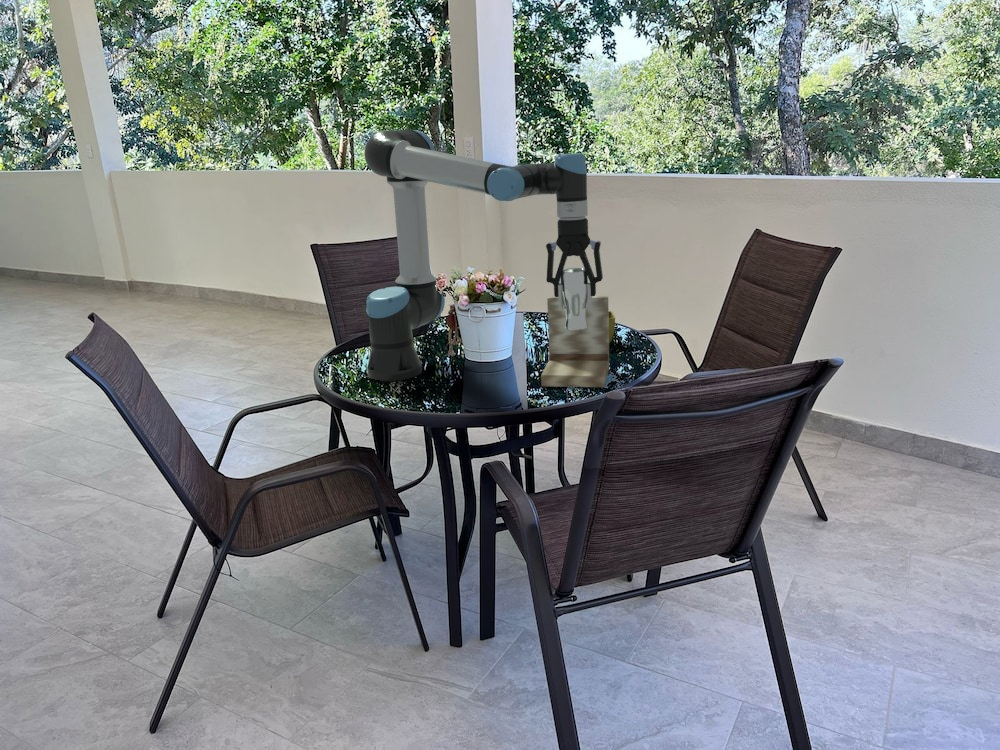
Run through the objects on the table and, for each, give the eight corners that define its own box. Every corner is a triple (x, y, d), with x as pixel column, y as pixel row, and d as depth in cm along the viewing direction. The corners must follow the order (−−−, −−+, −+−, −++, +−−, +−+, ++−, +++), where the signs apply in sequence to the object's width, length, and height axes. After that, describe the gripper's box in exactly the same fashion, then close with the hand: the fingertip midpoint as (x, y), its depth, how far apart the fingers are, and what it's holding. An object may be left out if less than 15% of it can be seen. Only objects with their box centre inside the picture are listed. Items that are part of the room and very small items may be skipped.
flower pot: (615, 347, 227) (615, 317, 224) (586, 348, 227) (585, 318, 224) (612, 339, 235) (611, 310, 232) (583, 340, 235) (583, 312, 233)
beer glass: (569, 323, 202) (567, 267, 198) (594, 325, 199) (592, 268, 194) (558, 329, 196) (555, 272, 192) (582, 331, 193) (580, 272, 188)
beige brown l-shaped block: (541, 386, 195) (538, 310, 189) (550, 368, 210) (548, 296, 204) (604, 387, 192) (603, 309, 186) (609, 368, 206) (608, 296, 200)
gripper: (530, 221, 188) (535, 312, 195) (611, 218, 184) (612, 311, 190) (536, 218, 195) (540, 306, 202) (613, 214, 190) (615, 305, 197)
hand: (575, 308), depth 196 cm, fingers closed on beer glass, 7 cm apart
